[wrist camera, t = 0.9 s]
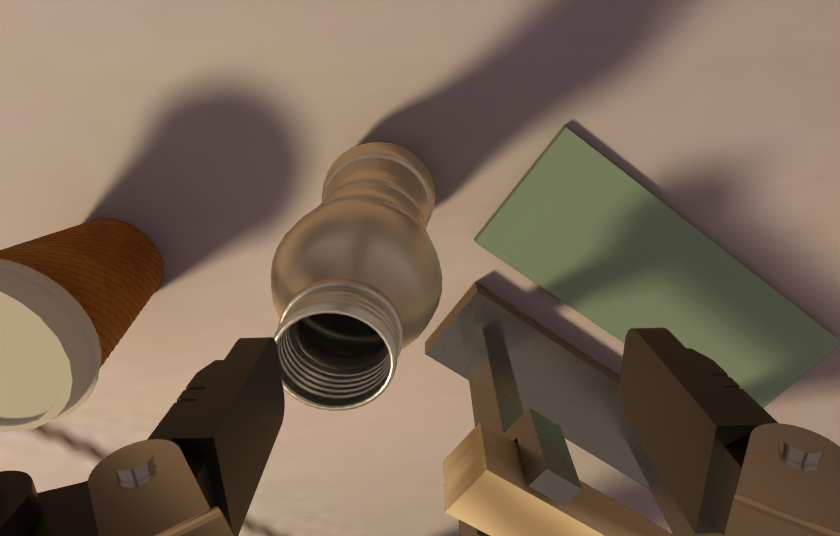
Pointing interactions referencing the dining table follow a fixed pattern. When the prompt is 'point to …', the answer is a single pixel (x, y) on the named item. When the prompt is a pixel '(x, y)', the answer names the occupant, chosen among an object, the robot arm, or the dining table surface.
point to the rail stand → (543, 400)
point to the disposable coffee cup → (67, 314)
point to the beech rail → (525, 496)
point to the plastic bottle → (356, 278)
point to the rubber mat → (648, 269)
